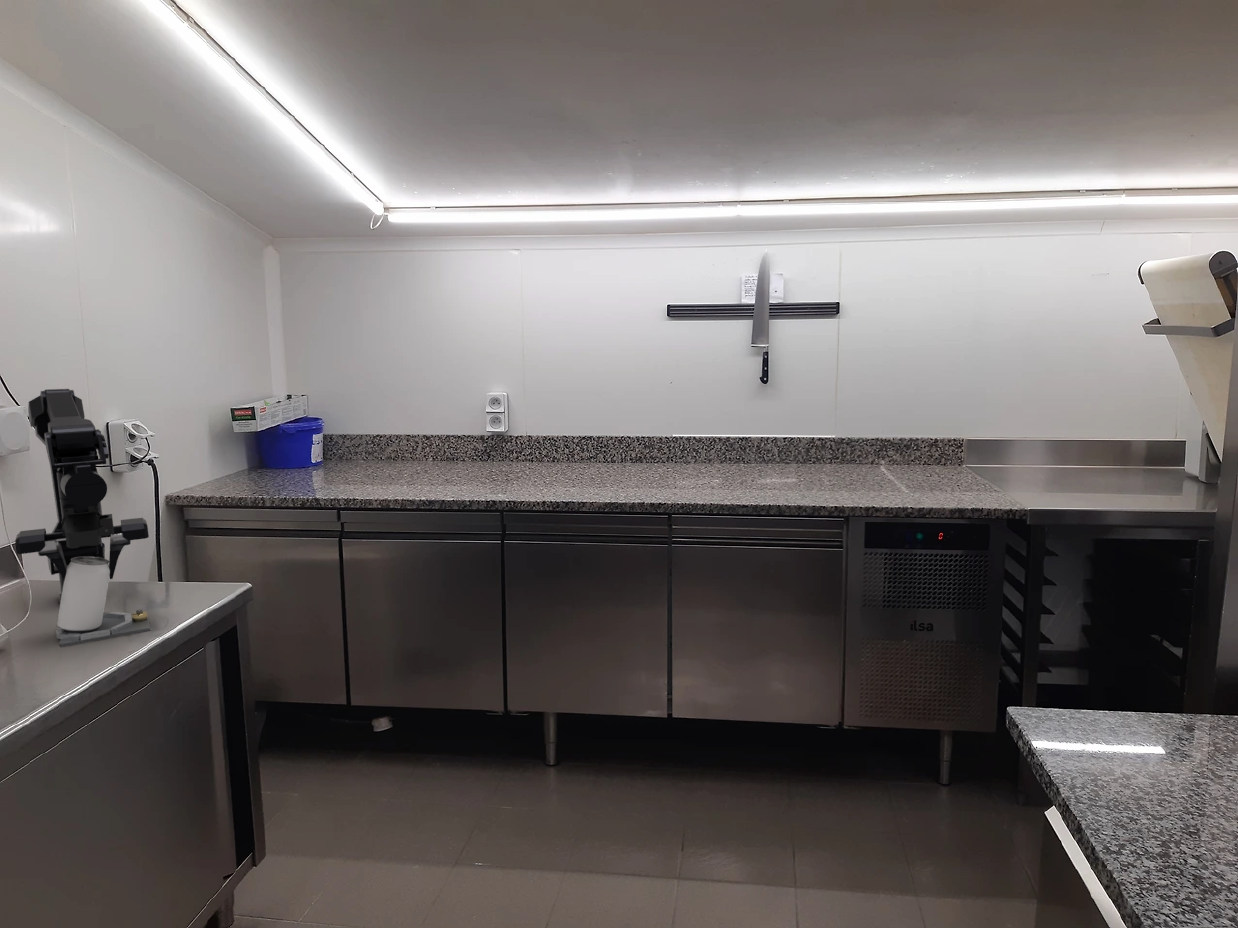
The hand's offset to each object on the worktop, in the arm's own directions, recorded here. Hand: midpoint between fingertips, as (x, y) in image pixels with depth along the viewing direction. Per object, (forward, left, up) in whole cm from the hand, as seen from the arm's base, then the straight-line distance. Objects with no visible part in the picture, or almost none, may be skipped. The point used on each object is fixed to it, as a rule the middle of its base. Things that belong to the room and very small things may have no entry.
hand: (90, 581), depth 132 cm
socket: (0, 0, -9) cm, 9 cm away
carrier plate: (+1, +1, -9) cm, 9 cm away
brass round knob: (0, +7, -9) cm, 11 cm away
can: (0, -2, -8) cm, 8 cm away
